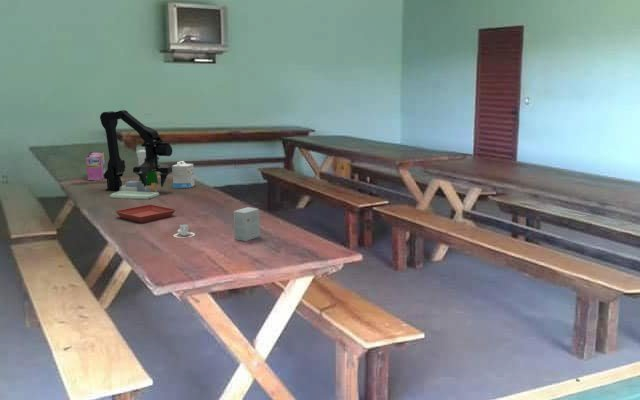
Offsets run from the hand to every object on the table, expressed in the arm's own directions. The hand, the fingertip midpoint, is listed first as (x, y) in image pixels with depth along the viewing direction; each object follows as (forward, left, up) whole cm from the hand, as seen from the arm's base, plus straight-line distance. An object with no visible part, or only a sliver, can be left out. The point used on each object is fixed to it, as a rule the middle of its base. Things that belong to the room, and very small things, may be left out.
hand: (153, 186), depth 318 cm
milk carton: (-14, +21, -3) cm, 26 cm away
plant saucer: (+23, -51, -3) cm, 55 cm away
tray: (-4, -13, -3) cm, 13 cm away
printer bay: (-11, 0, -3) cm, 11 cm away
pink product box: (-53, +34, -3) cm, 64 cm away
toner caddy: (-6, 0, -3) cm, 7 cm away
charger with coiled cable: (+53, -72, -4) cm, 90 cm away
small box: (+76, -75, -3) cm, 106 cm away
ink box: (+9, +16, -3) cm, 19 cm away
